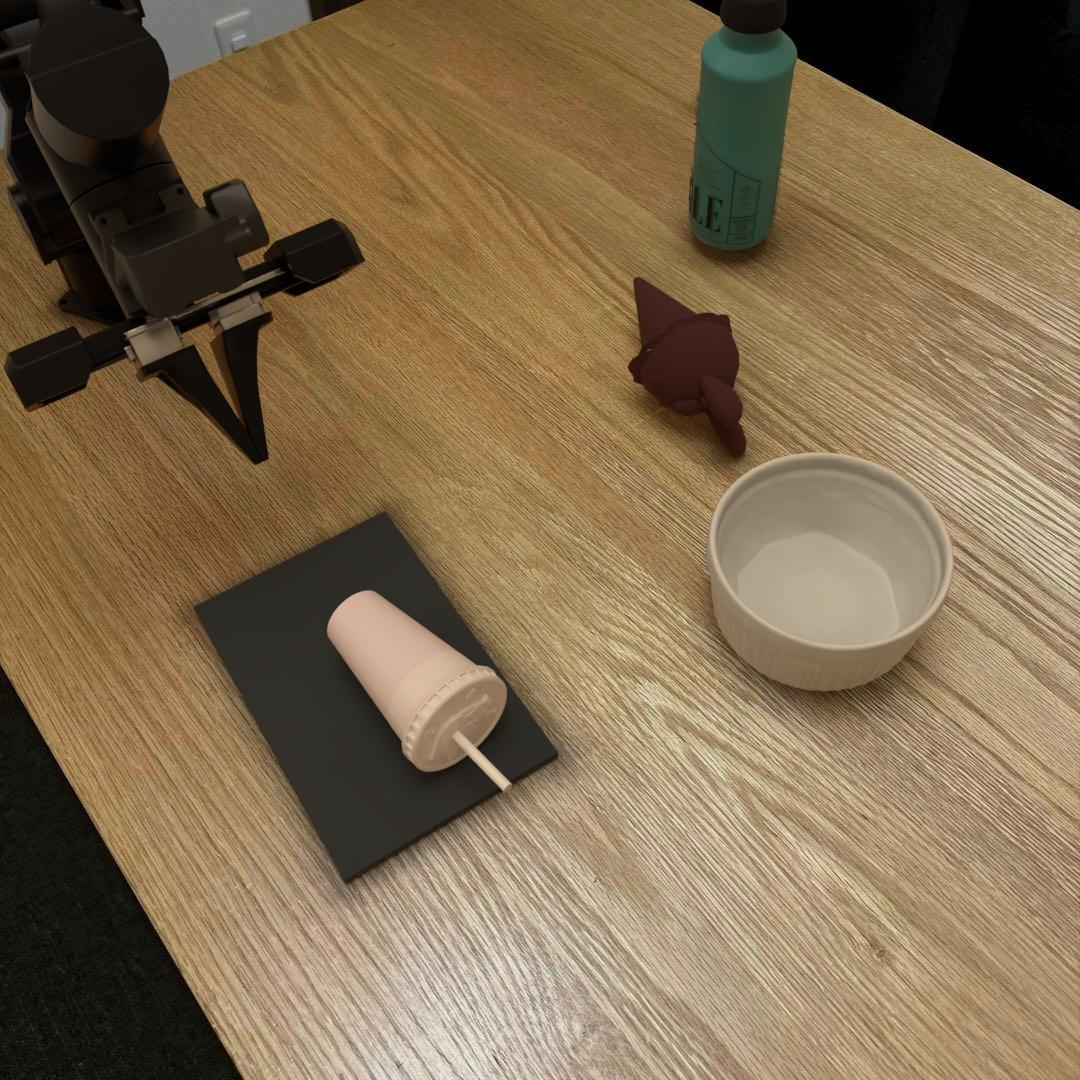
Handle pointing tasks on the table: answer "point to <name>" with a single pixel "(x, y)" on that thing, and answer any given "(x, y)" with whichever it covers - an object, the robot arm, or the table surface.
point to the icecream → (689, 363)
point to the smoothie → (419, 684)
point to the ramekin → (826, 569)
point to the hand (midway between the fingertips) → (261, 462)
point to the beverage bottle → (741, 124)
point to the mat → (355, 696)
